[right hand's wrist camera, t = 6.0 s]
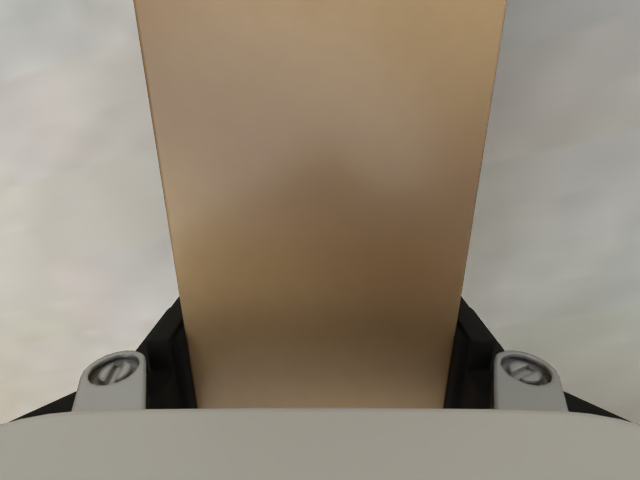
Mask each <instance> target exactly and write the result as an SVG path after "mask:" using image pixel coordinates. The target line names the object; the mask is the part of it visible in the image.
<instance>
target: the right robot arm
mask: <svg viewBox="0 0 640 480" xmlns="http://www.w3.org/2000/svg"><path fill="white" fill-rule="evenodd" d="M0 480H640V425H639V424H636V423H632V422H630V421H628V420H626V419H623V418H621V417H619V416H617V415H615V414H612V413H610V412H608V411H606V410H604V409H601V408H599V407H597V406H595V405H593V404H590V403H588V402H586V401H584V400H582V399H579V398H577V397H575V396H573V395H571V394H568V393H566V392H564V391H563V389H562V385H561V381H560V377H559V375H558V374H557V372H556V370H555V369H554V368H553V367H552V366H551V365H549V364H548V363H547V362H545V361H544V360H542V359H540V358H538V357H536V356H534V355H531V354H528V353H525V352H520V351H504V349H503V348H502V347H501V345H500V344H499V343H498V342H497V340H496V339H495V338H494V336H493V335H492V334H491V332H490V331H489V330H488V329H487V327H486V326H485V325H484V323H483V322H482V321H481V320H480V318H479V317H478V316H477V314H476V313H475V312H474V310H473V309H471V308H470V307H469V306H468V305H467V303H466V302H465V301H464V300H463V298H462V297H461V299H460V305H459V312H458V318H457V324H456V331H455V337H454V344H453V350H452V356H451V363H450V369H449V376H448V382H447V389H446V395H445V401H444V408H443V409H417V408H218V409H197V403H196V396H195V390H194V384H193V377H192V371H191V364H190V358H189V352H188V345H187V339H186V333H185V327H184V321H183V315H182V308H181V302H180V296H179V297H178V299H177V300H176V301H175V303H174V304H173V305H172V307H171V308H169V309H168V310H167V311H166V312H165V314H164V315H163V316H162V318H161V319H160V320H159V321H158V323H157V324H156V325H155V327H154V328H153V329H152V330H151V332H150V333H149V334H148V336H147V337H146V338H145V339H144V341H143V342H142V343H141V345H140V346H139V347H138V349H137V350H136V351H120V352H115V353H112V354H109V355H106V356H104V357H102V358H100V359H98V360H96V361H95V362H93V363H92V364H91V365H89V366H88V367H87V368H86V369H85V370H84V372H83V374H82V375H81V377H80V381H79V385H78V389H77V391H76V392H74V393H72V394H70V395H67V396H65V397H63V398H61V399H59V400H56V401H54V402H52V403H50V404H48V405H45V406H43V407H41V408H39V409H37V410H34V411H32V412H30V413H28V414H26V415H23V416H21V417H19V418H17V419H15V420H12V421H10V422H8V423H4V424H1V425H0Z"/></svg>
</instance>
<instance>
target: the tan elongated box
mask: <svg viewBox="0 0 640 480" xmlns="http://www.w3.org/2000/svg"><path fill="white" fill-rule="evenodd" d="M133 1H134V8H135V14H136V21H137V27H138V33H139V40H140V46H141V53H142V59H143V65H144V72H145V78H146V85H147V91H148V97H149V104H150V110H151V117H152V123H153V129H154V136H155V142H156V148H157V155H158V161H159V168H160V174H161V180H162V187H163V193H164V200H165V206H166V212H167V219H168V225H169V232H170V238H171V244H172V251H173V257H174V264H175V270H176V276H177V283H178V289H179V296H180V302H181V308H182V315H183V321H184V327H185V333H186V339H187V345H188V352H189V358H190V364H191V371H192V377H193V384H194V390H195V396H196V403H197V409H218V408H417V409H443V408H444V401H445V395H446V389H447V382H448V376H449V369H450V363H451V356H452V350H453V344H454V337H455V331H456V324H457V318H458V312H459V305H460V299H461V292H462V286H463V280H464V273H465V267H466V260H467V254H468V247H469V241H470V235H471V228H472V222H473V215H474V209H475V203H476V196H477V190H478V183H479V177H480V171H481V164H482V158H483V151H484V145H485V138H486V132H487V126H488V119H489V113H490V106H491V100H492V94H493V87H494V81H495V74H496V68H497V62H498V55H499V49H500V42H501V36H502V29H503V23H504V17H505V10H506V4H507V0H133Z"/></svg>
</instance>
